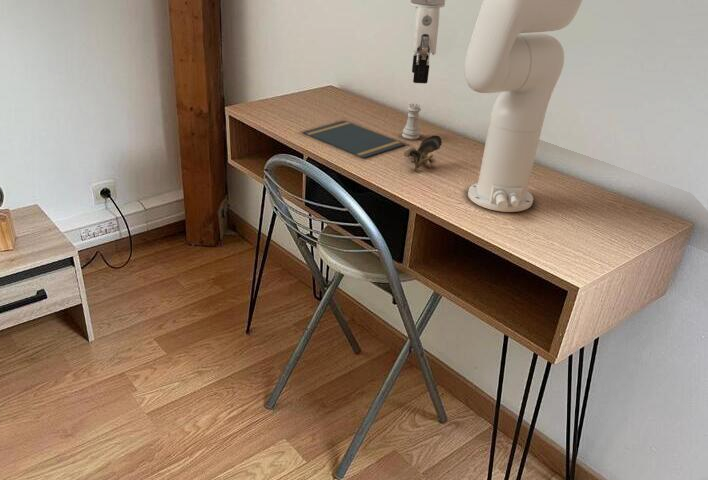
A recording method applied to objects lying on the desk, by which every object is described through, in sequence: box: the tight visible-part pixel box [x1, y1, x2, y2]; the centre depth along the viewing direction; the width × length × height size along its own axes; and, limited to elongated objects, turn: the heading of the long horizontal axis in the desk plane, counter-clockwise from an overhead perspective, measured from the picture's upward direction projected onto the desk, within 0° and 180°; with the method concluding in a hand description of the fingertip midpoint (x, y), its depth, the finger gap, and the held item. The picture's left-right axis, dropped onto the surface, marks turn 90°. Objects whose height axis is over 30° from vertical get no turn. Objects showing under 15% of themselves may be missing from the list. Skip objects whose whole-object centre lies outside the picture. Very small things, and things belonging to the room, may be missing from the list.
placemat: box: [302, 120, 406, 159], centre depth 155 cm, size 21×14×1 cm, turn 41°
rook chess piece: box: [401, 103, 422, 141], centre depth 155 cm, size 4×4×8 cm
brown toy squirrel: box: [403, 134, 443, 172], centre depth 141 cm, size 8×7×9 cm
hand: (419, 77), depth 149 cm, fingers open, 9 cm apart
